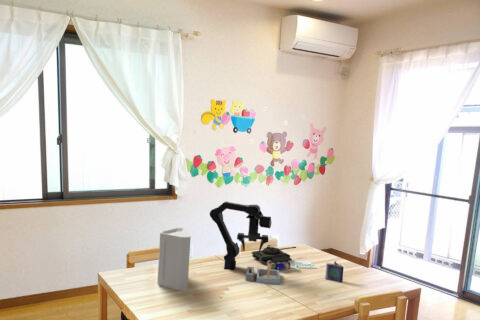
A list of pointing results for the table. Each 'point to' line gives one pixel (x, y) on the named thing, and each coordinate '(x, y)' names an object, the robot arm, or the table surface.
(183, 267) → the tall grey upright pillar
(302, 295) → the table surface
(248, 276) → the dispenser
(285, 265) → the figurine character
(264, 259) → the toy tank
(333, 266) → the wallet
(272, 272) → the tray
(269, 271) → the tan wooden block
